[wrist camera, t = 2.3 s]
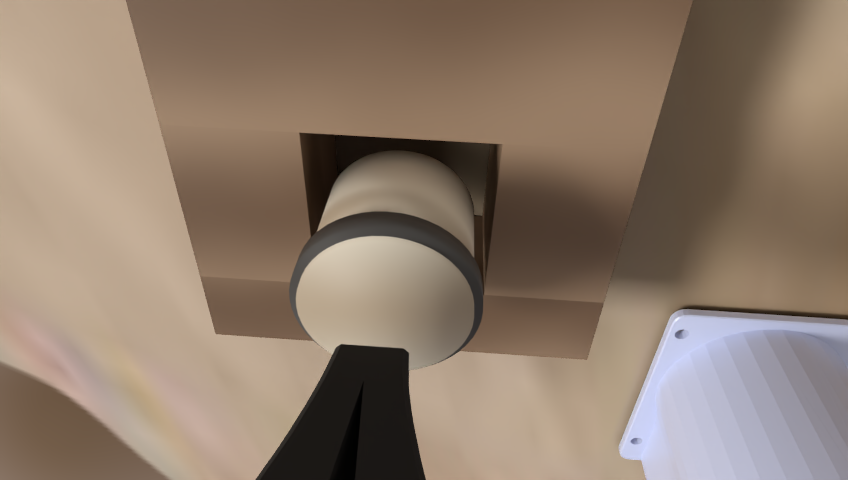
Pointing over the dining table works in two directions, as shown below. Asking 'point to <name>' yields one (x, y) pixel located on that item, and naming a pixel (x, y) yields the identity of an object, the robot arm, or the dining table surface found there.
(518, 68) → the walnut block
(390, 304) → the birch peg inner
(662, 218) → the dining table surface
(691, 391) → the robot arm
